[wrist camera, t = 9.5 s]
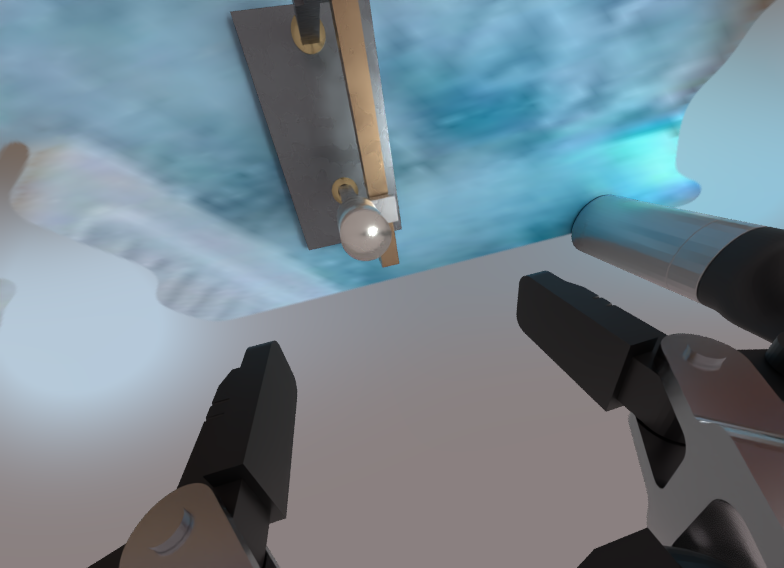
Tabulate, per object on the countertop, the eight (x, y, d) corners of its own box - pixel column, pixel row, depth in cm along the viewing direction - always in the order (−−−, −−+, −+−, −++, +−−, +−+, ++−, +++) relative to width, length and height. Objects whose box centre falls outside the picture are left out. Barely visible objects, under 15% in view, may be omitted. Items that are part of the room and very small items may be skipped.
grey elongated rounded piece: (369, 171, 31) (412, 201, 17) (374, 199, 33) (418, 249, 18) (327, 179, 31) (335, 217, 16) (335, 207, 32) (347, 266, 18)
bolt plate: (366, 2, 26) (396, -87, 16) (398, 225, 37) (429, 260, 27) (234, 18, 25) (172, -68, 14) (309, 246, 36) (305, 291, 25)
